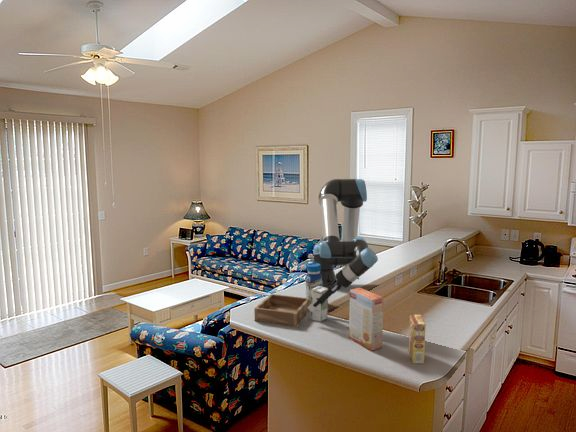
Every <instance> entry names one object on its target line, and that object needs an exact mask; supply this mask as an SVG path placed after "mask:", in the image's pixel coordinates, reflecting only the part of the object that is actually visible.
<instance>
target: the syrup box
mask: <svg viewBox="0 0 576 432" xmlns="http://www.w3.org/2000/svg"><path fill="white" fill-rule="evenodd" d="M327 290H328V289H327V287H321V286H318V287H315V288H313V289H311V304H312V303H313V302H314V301H315V300H317V299H316V298H320V297H321V296H322V295H323V294H324V293H325V292H326V291H327ZM328 315H329V298H328V299H327V300H325V301H324V302H323V303H322V304H321V305H319V306H318V307H317V308H316V309H315V310H314V311H312V312H311V311H310V320H313V321H315V322H316V321H317V322H321V323H322V322H323V321H325V320H327V319H328Z"/></svg>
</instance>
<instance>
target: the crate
mask: <svg viewBox="0 0 576 432" xmlns="http://www.w3.org/2000/svg"><path fill="white" fill-rule="evenodd" d="M309 306H310V299H309V298H306V297H301V296H300V297H299V296H290V295H283V294H275V293H271V294H269V295H268V296H267V297H266V298H265V299H263V301H261V302H260V303H259V304H258V305H256V306H255V307H254V322H260V323H268V324H274V325H280V326H285V327H293V326H294V327H293V328H297V327H298V326H297V325H299V324H300V323H301V322H302V321H303V320H304V318H305V317H306V316H307V315H308V314H309V312H311V311H310V310H309V309H308V307H309ZM307 313H308V314H307Z"/></svg>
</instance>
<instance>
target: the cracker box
mask: <svg viewBox="0 0 576 432" xmlns="http://www.w3.org/2000/svg"><path fill="white" fill-rule="evenodd" d="M348 319H349V321H348V325H349V326H348V329H349V330H348V338H349V339H351V340H352V341H354V342H355V343H358V344H359V345H361V346H362V347H364V348H366V349H367V350H369V351H371V352H372V351H376V350H378V349H382V348H383V326H384V325H383V321H384V297H383V296H381V295H379V294H377V293H375V292H372V291H369V290H367V289H365V288H362V287H357V288H352V289H350V290H349V317H348Z"/></svg>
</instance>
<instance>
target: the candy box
mask: <svg viewBox="0 0 576 432" xmlns="http://www.w3.org/2000/svg"><path fill="white" fill-rule="evenodd" d="M408 341H409V346H408V349H409V350H408V352H409V355H410V358H411V362H412V364H422V365H423V364H425V351H426V349H425V346H426V345H425V343H426V323H425V321H424V319H423V316H422V315H421V314H410V315H409V339H408Z"/></svg>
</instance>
